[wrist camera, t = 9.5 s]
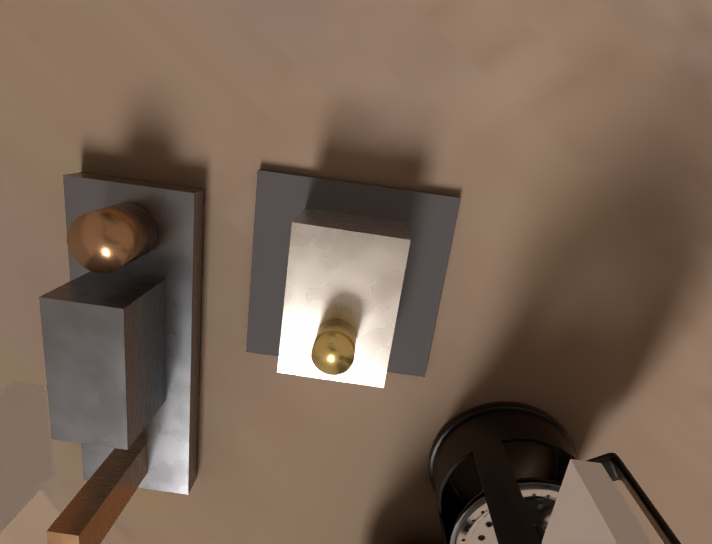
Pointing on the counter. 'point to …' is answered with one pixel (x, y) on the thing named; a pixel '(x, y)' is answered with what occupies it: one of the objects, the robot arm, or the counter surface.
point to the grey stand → (125, 345)
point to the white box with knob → (342, 296)
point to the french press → (511, 477)
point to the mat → (418, 209)
